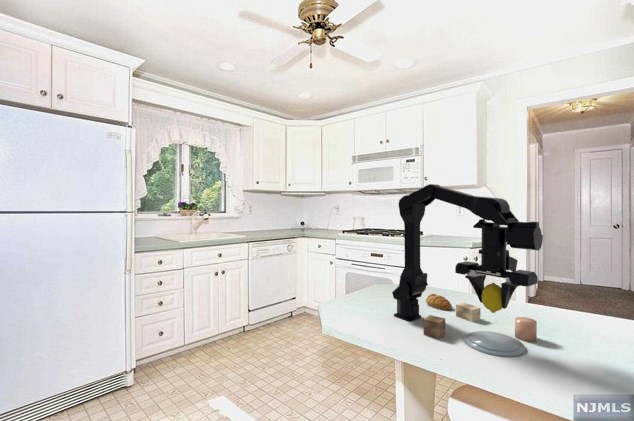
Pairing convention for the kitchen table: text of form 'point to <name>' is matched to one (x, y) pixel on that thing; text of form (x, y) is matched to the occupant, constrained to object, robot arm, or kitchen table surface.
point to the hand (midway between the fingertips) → (493, 305)
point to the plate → (494, 343)
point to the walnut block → (434, 326)
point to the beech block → (468, 312)
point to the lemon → (492, 297)
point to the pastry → (438, 302)
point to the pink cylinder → (526, 329)
